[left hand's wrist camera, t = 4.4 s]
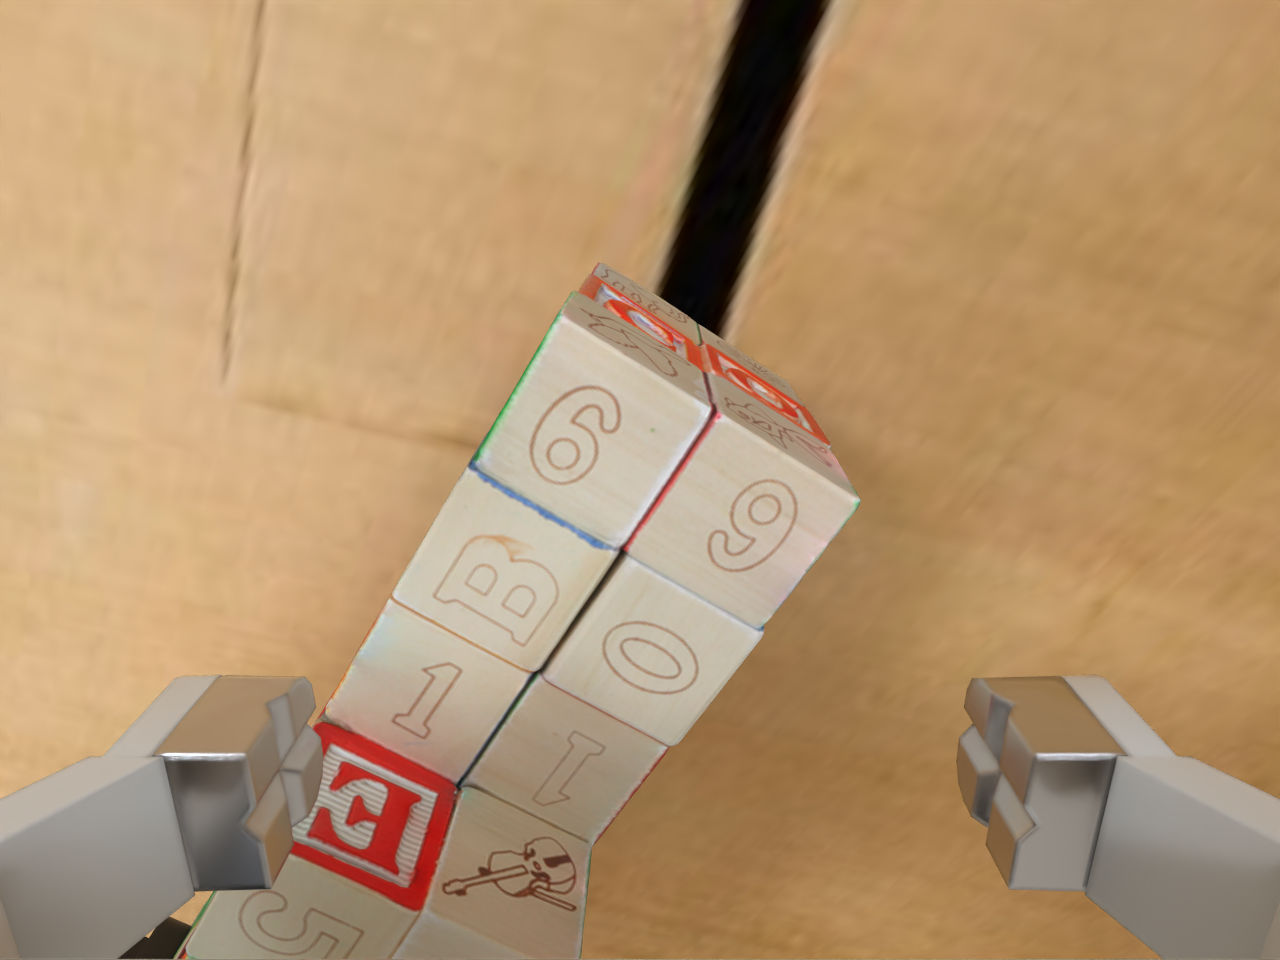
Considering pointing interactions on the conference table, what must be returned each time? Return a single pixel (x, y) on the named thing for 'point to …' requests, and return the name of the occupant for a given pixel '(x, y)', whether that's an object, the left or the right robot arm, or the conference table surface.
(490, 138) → the conference table surface
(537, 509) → the stack of blocks
